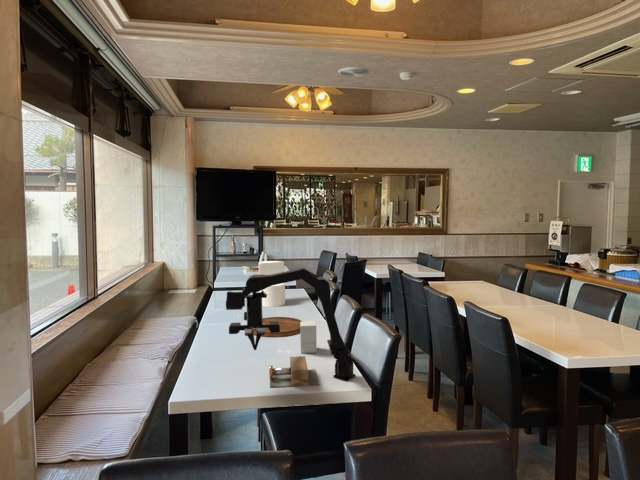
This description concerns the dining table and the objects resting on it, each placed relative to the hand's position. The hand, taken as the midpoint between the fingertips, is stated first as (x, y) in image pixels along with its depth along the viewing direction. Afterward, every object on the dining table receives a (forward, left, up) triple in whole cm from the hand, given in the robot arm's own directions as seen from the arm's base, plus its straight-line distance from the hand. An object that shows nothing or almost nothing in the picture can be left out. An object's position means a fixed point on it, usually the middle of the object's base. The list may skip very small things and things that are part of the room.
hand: (255, 349), depth 158 cm
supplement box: (+5, -38, -12) cm, 40 cm away
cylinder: (+82, -92, -12) cm, 124 cm away
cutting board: (+41, -54, -13) cm, 69 cm away
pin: (-7, -7, -11) cm, 15 cm away
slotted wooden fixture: (-10, -10, -12) cm, 19 cm away
